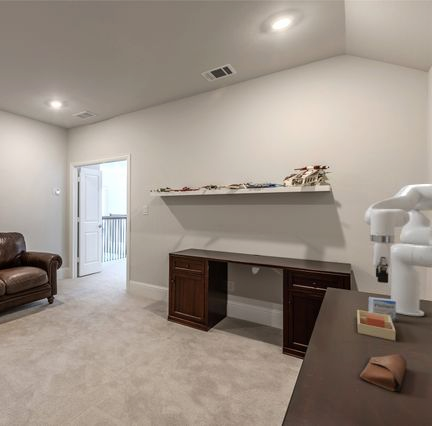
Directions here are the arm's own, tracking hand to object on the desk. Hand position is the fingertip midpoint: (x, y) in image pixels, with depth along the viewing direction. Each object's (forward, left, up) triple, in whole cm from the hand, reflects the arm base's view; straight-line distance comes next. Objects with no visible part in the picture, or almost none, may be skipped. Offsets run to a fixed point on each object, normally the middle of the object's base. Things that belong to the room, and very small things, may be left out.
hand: (381, 279), depth 125 cm
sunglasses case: (+54, -2, -18) cm, 57 cm away
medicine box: (-5, +1, -18) cm, 19 cm away
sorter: (+11, -2, -18) cm, 21 cm away
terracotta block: (+16, -3, -17) cm, 24 cm away
